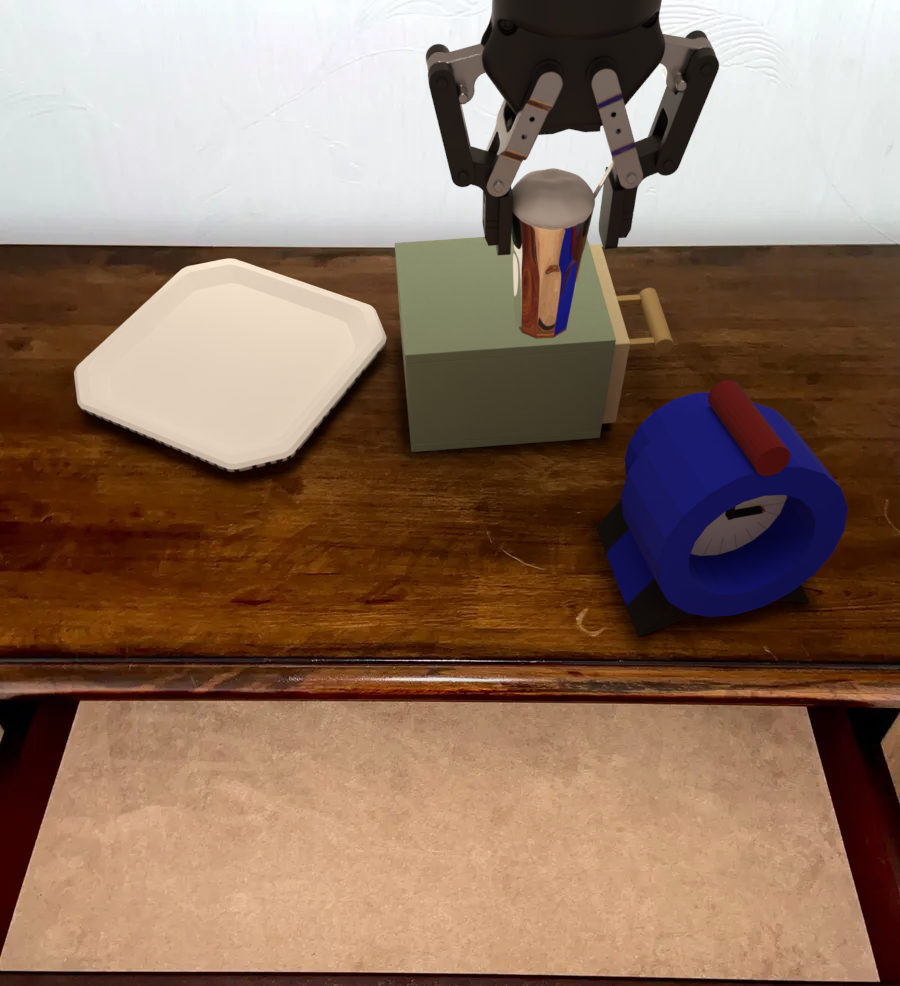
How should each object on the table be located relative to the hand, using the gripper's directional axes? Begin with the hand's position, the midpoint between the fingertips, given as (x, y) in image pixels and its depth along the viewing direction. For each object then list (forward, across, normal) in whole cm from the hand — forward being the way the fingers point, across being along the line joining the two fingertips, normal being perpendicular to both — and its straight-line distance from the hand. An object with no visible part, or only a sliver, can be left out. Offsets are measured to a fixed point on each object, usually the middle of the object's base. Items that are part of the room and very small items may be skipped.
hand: (555, 242), depth 52 cm
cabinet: (+21, -2, +11) cm, 24 cm away
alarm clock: (+22, +11, -7) cm, 25 cm away
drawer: (+20, +2, +11) cm, 23 cm away
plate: (+21, -23, +15) cm, 35 cm away
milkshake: (+6, 0, 0) cm, 6 cm away
